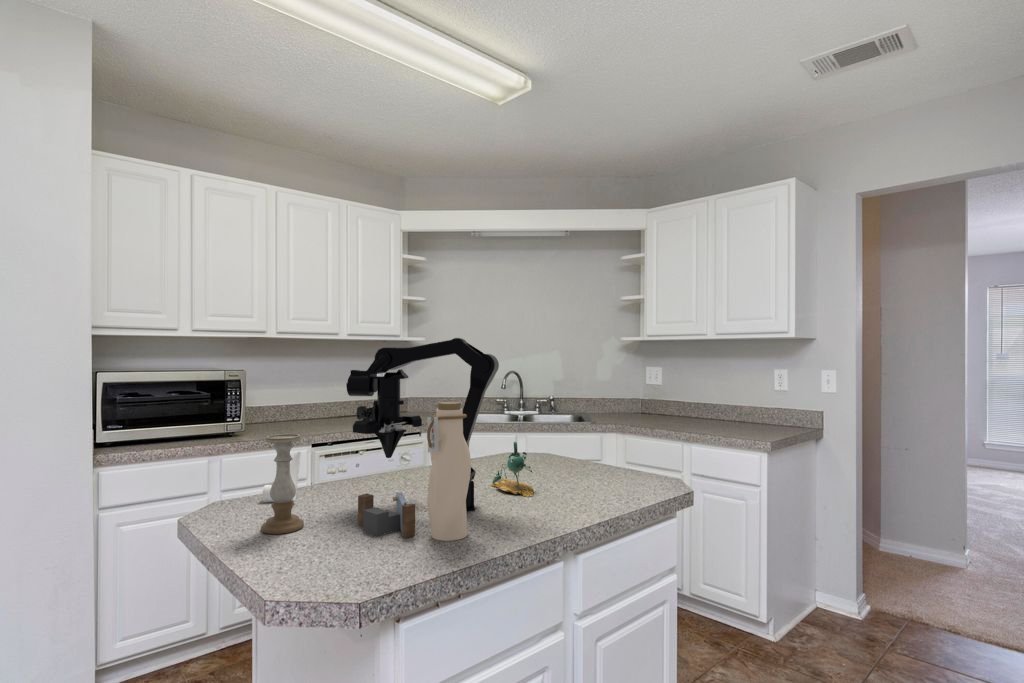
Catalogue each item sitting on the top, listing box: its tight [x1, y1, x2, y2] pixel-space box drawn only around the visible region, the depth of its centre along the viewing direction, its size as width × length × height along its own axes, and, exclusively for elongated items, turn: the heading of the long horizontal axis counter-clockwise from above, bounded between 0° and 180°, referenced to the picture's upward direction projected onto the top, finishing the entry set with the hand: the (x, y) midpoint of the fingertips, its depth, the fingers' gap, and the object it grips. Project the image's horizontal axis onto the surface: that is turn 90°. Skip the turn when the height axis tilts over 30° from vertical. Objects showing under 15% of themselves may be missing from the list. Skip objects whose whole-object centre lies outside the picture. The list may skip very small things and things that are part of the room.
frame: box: [357, 493, 416, 539], centre depth 121 cm, size 16×2×7 cm, turn 54°
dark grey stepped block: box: [362, 506, 401, 537], centre depth 121 cm, size 5×6×5 cm
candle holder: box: [260, 433, 305, 535], centre depth 122 cm, size 9×9×20 cm
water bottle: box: [426, 401, 472, 542], centre depth 117 cm, size 10×9×28 cm
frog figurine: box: [490, 441, 535, 498], centre depth 156 cm, size 10×18×15 cm, turn 31°
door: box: [392, 492, 408, 533], centre depth 123 cm, size 11×2×6 cm, turn 18°
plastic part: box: [261, 451, 302, 503], centre depth 148 cm, size 8×10×12 cm
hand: (388, 457), depth 141 cm, fingers closed
